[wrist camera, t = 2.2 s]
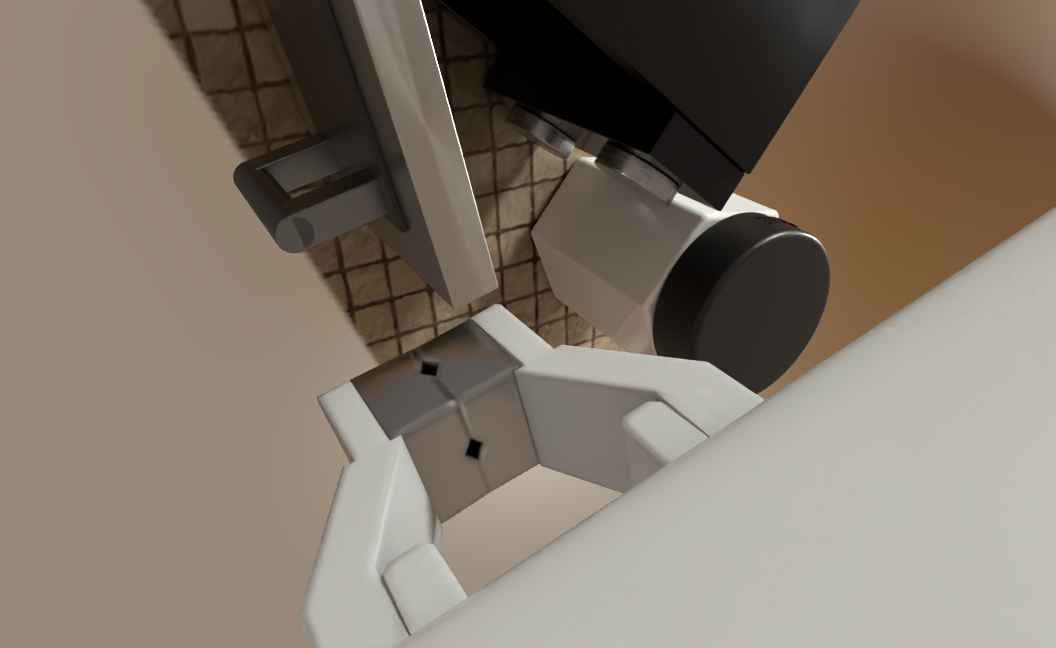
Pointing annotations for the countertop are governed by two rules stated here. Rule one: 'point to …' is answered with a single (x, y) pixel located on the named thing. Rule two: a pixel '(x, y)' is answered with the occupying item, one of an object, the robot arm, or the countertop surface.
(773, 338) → the jar
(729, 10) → the oven
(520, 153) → the countertop surface
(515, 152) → the countertop surface
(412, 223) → the oven door
